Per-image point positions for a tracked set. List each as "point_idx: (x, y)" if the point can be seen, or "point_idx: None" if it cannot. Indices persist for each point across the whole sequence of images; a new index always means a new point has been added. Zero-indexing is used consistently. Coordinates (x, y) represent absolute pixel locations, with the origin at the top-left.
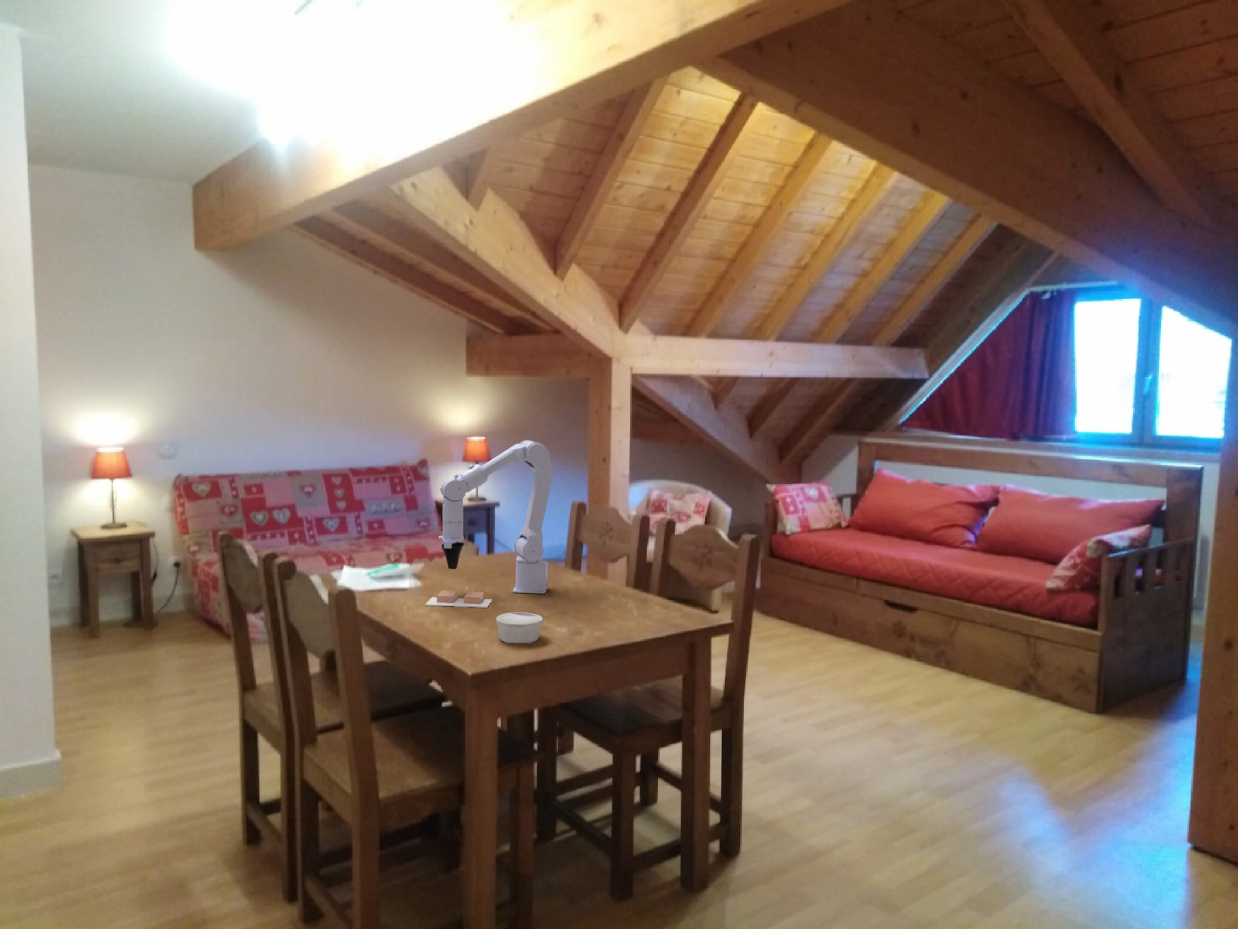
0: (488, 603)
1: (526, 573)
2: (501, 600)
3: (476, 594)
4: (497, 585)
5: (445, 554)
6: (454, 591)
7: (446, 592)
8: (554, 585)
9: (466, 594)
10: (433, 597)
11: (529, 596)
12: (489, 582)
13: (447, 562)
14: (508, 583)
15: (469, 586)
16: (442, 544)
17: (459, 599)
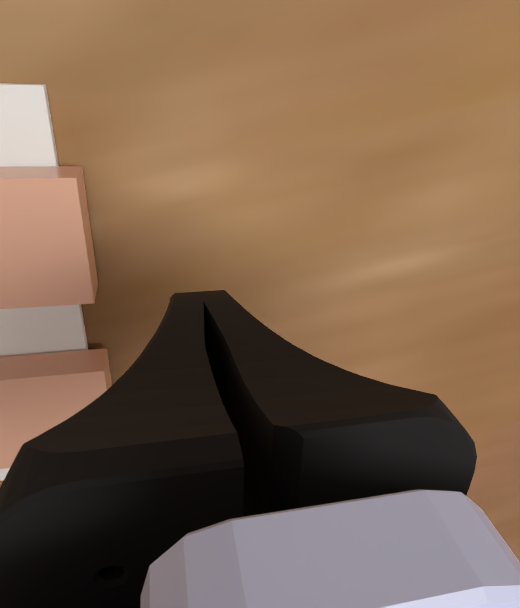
0: (1, 476)
1: None
2: None
3: (36, 435)
4: (443, 398)
5: (109, 389)
6: (77, 285)
7: (21, 234)
8: None
9: (13, 383)
10: (35, 102)
11: None
12: (513, 349)
13: (160, 325)
14: (478, 430)
15: (433, 271)
16: (141, 485)
17: (40, 309)
